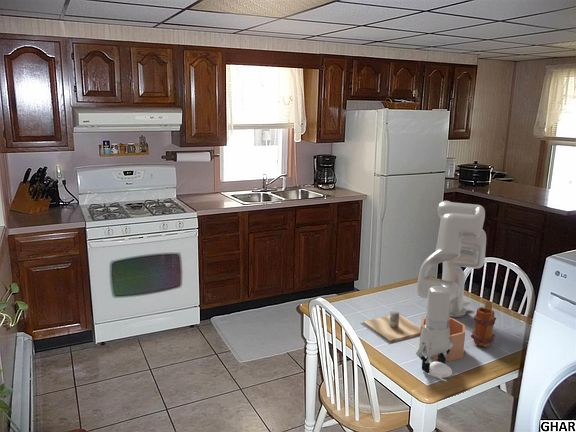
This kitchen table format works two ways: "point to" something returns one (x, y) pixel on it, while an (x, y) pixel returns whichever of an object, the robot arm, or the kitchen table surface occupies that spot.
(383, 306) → the kitchen table surface
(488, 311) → the mug
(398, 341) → the mat
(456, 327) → the bowl
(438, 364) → the garlic
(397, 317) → the lid
